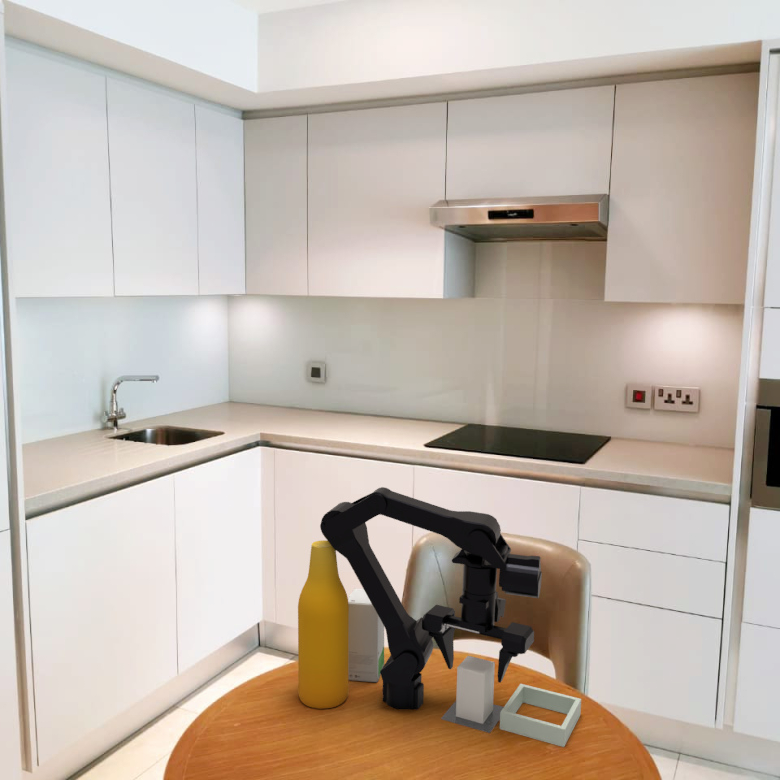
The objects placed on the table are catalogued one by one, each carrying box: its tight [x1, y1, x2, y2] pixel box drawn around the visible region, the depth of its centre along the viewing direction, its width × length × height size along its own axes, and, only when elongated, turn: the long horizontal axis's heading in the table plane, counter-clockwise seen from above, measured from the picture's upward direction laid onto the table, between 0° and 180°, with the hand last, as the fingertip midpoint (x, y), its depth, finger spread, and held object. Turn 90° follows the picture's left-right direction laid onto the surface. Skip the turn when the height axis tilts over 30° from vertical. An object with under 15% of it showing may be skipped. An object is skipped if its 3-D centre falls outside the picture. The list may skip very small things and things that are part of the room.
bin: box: [499, 683, 582, 748], centre depth 135 cm, size 11×11×4 cm
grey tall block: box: [455, 655, 496, 724], centre depth 137 cm, size 5×5×9 cm
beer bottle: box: [297, 540, 350, 710], centre depth 142 cm, size 9×9×29 cm
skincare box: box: [348, 587, 385, 683], centre depth 153 cm, size 8×7×16 cm
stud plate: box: [440, 700, 504, 734], centre depth 138 cm, size 9×9×4 cm
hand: (475, 674), depth 137 cm, fingers open, 9 cm apart
